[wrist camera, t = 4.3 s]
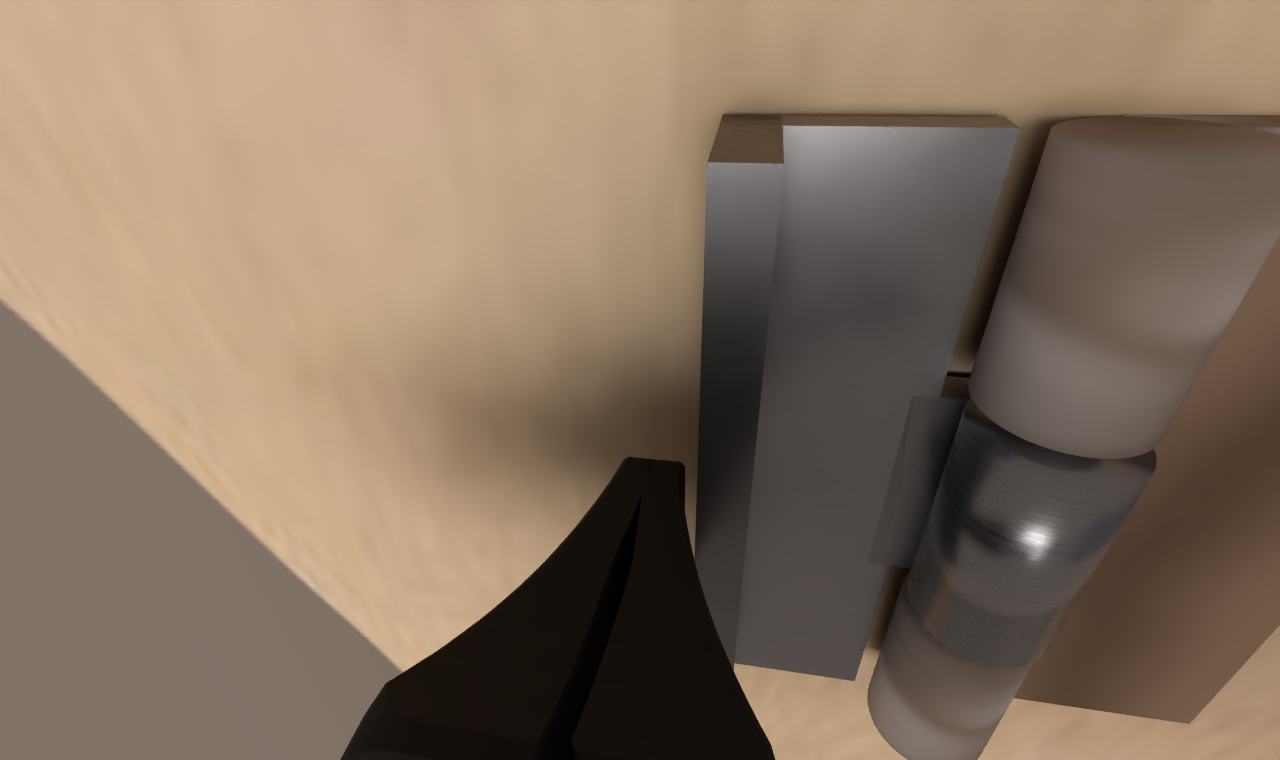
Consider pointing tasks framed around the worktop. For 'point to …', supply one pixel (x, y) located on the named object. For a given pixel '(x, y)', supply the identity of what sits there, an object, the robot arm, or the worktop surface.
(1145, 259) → the fixed leaf
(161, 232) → the worktop surface
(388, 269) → the worktop surface
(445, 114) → the worktop surface
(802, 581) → the metal hinge
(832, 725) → the worktop surface
